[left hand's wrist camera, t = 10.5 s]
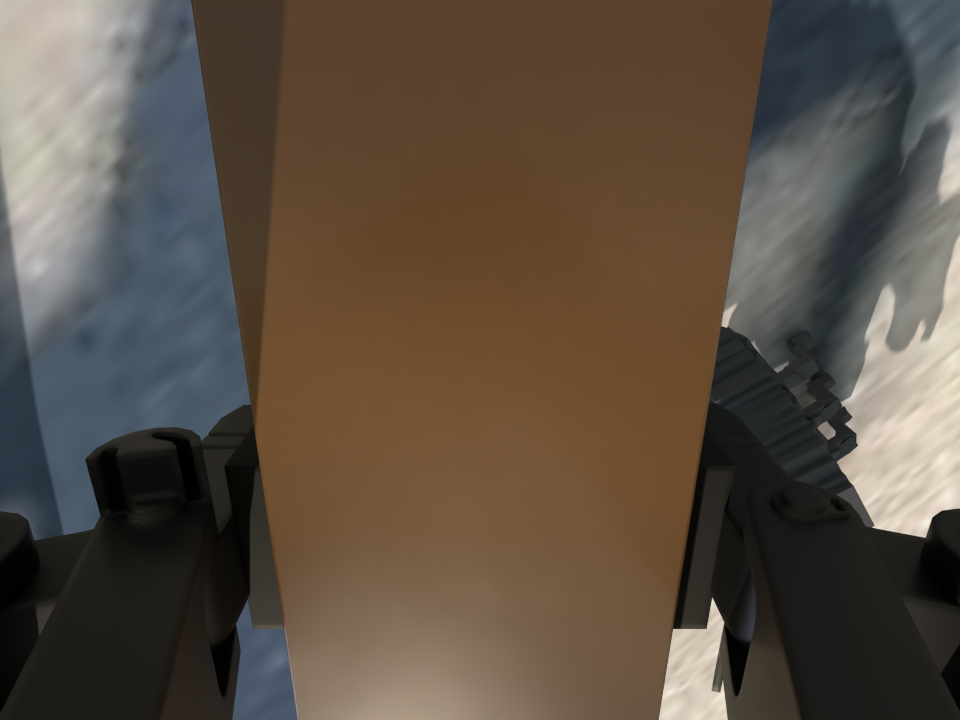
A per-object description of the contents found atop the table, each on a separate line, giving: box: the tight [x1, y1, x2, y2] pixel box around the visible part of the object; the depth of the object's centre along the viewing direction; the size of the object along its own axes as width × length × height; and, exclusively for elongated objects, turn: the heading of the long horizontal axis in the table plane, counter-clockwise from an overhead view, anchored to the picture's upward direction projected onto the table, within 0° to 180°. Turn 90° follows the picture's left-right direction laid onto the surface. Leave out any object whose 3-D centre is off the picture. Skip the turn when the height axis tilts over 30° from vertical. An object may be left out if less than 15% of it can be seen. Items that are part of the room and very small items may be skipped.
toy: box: [709, 326, 874, 528], centre depth 33 cm, size 13×27×18 cm, turn 34°
